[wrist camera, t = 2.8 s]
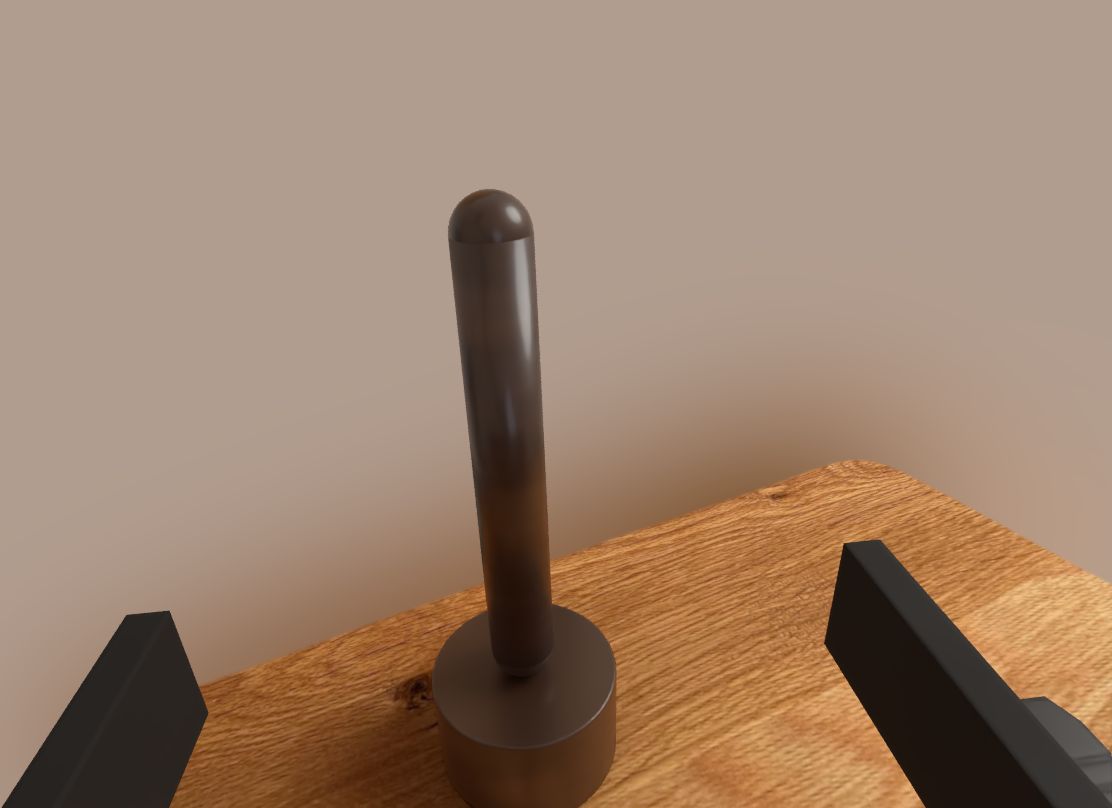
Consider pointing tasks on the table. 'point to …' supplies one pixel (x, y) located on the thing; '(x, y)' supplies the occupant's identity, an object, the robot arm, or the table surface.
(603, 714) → the joystick lever
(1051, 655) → the table surface
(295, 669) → the table surface
